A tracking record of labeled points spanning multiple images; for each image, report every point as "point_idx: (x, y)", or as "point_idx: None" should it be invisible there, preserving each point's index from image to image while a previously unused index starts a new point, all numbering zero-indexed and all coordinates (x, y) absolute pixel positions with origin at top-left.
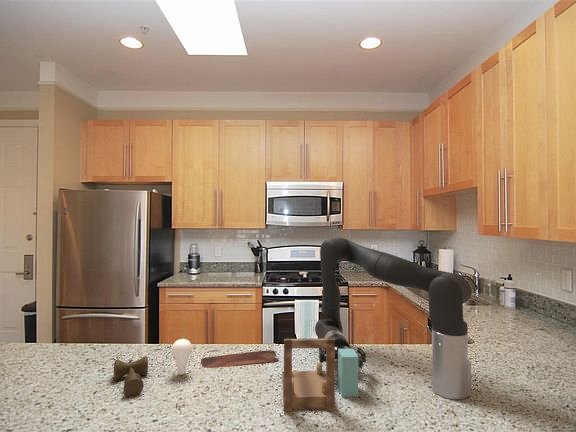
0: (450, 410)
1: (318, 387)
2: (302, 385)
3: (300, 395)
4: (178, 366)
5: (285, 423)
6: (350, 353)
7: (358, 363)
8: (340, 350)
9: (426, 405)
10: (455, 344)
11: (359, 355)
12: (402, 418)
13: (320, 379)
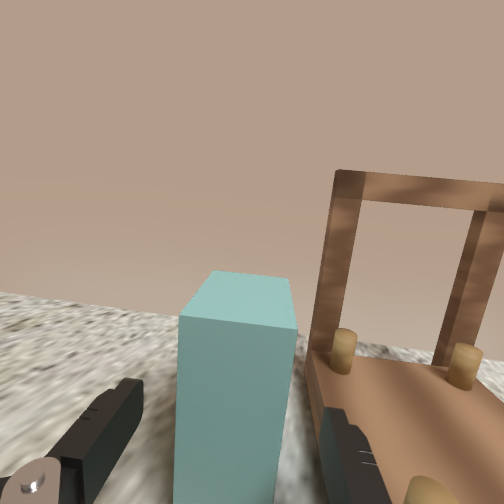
0: (10, 328)
1: (371, 399)
2: (448, 422)
3: (417, 369)
4: None
5: (415, 356)
6: (234, 287)
7: (128, 422)
8: (283, 313)
9: (36, 349)
10: None
11: (47, 458)
12: (154, 329)
13: (381, 465)
